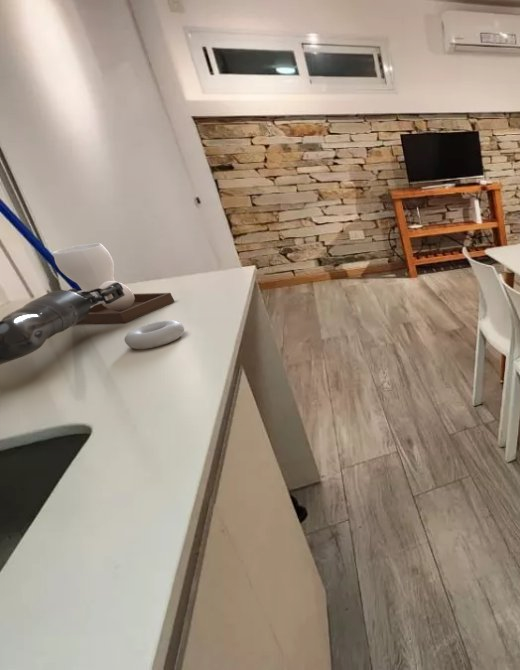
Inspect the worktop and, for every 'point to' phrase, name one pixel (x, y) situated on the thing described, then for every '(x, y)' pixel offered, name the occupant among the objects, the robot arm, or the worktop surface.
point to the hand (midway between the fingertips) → (97, 289)
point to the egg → (122, 302)
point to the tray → (140, 307)
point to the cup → (86, 265)
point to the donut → (154, 334)
